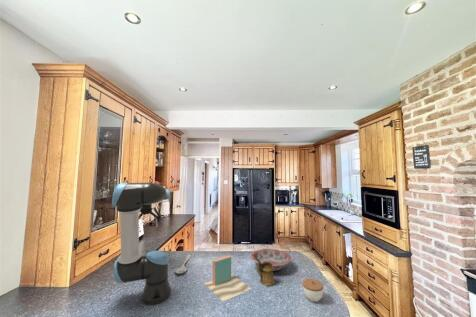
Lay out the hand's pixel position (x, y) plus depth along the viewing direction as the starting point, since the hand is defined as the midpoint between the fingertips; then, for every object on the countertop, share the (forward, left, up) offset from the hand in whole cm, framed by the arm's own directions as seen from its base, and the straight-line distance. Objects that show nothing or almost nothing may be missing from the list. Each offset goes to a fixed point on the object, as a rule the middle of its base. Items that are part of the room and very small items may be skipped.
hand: (147, 228), depth 153 cm
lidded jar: (+2, -120, -27) cm, 124 cm away
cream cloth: (-6, -72, -27) cm, 77 cm away
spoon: (+9, -29, -27) cm, 41 cm away
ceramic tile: (-3, -67, -26) cm, 72 cm away
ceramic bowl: (+29, -90, -27) cm, 99 cm away
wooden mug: (+7, -91, -27) cm, 96 cm away
